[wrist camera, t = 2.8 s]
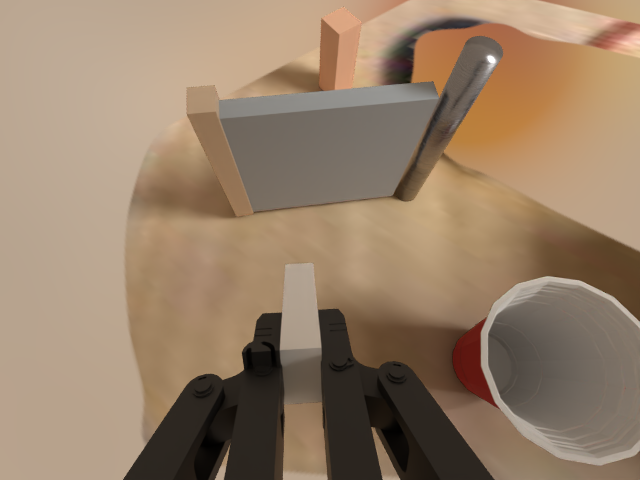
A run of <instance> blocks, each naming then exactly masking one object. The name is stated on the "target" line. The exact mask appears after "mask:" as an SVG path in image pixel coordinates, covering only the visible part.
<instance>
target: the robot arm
mask: <svg viewBox="0 0 640 480" xmlns="http://www.w3.org/2000/svg"><path fill="white" fill-rule="evenodd" d="M242 357H243V364H244V370H243V371H242V372H241V373H239V374H238V375H236V376H233V377H231V378H228V379H224V380H222V379H221V378H220V377H219V376H217V375H214V374H204V375H201V376H198V377H196V378H194V379H193V380H191V381H190V382H189V383H188V384H187V386H186V387H185V388H184V390H183V391H182V393H181V394H180V396H179V397H178V399H177V400H176V402H175V403H174V405H173V406H172V408H171V409H170V411H169V412H168V414H167V415H166V417H165V418H164V419H163V421H162V422H161V424H160V425H159V427H158V428H157V430H156V431H155V433H154V434H153V436H152V437H151V439H150V440H149V442H148V443H147V445H146V446H145V448H144V449H143V451H142V452H141V454H140V455H139V457H138V458H137V460H136V461H135V463H134V464H133V466H132V467H131V469H130V470H129V472H128V473H127V475H126V476H125V477H124V479H123V480H215V478H216V475H217V473H218V471H219V468H220V466H221V464H222V462H223V459H224V457H225V455H226V452H227V450H228V448H229V445H230V443H231V445H230V450H229V455H228V461H227V466H226V472H225V477H224V480H283V453H284V424H285V415H284V404H299V403H314V402H322V406H323V428H324V438H325V450H326V463H327V476H328V480H383V479H382V475H381V470H380V466H379V461H378V457H377V452H376V448H375V443H374V439H373V434H372V430H371V427H375V429H376V432H377V434H378V436H379V438H380V440H381V442H382V444H383V446H384V448H385V450H386V452H387V454H388V456H389V458H390V460H391V462H392V464H393V466H394V468H395V470H396V472H397V474H398V476H399V478H400V480H494V479H493V477H492V476H491V475H490V473H489V472H488V471H487V469H486V468H485V467H484V465H483V464H482V463H481V461H480V460H479V459H478V457H477V456H476V455H475V453H474V452H473V451H472V449H471V448H470V447H469V445H468V444H467V443H466V441H465V440H464V439H463V437H462V436H461V435H460V433H459V432H458V431H457V429H456V428H455V427H454V425H453V424H452V423H451V421H450V420H449V419H448V417H447V416H446V414H445V413H444V412H443V410H442V409H441V408H440V406H439V405H438V404H437V402H436V401H435V400H434V398H433V397H432V396H431V394H430V393H429V392H428V390H427V389H426V388H425V386H424V385H423V384H422V382H421V381H420V380H419V378H418V377H417V376H416V374H415V373H414V372H413V370H412V369H410V368H409V367H408V366H407V365H405V364H403V363H400V362H395V361H393V362H387V363H384V364H382V365H381V367H380V368H379V369H375V368H370V367H367V366H364V365H362V364H360V363H359V362H357V361H356V360H355V358H354V357H353V354H352V351H351V346H350V342H349V337H348V332H347V328H346V323H345V318H344V315H343V314H342V313H341V312H340V310H339V309H326V310H318V307H317V297H316V287H315V277H314V267H313V263H298V264H285V278H284V293H283V308H282V313H265V314H262V315H261V316H260V317H259V319H258V320H257V323H256V328H255V334H254V339H253V342H251V343H249V344H248V345H247V346H246V347H244V349H243V351H242Z"/></svg>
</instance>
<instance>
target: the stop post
mask: <svg viewBox="0 0 640 480" xmlns="http://www.w3.org/2000/svg"><path fill="white" fill-rule="evenodd" d="M361 24H362V23H361V22H360V21H359V20H358V19H357V18H356V17H354V16H353V15H352V14H351V13H350V12H349V11H348V10H347V9H345V8H344V7H342V8H340V9H338V10H336V11H334V12H332V13H330V14H329V15H327V16H325V17H323V18H321V44H320V74H319V87H320V88H321V89H322V90H323V91H330V90H341V89H352V84H353V77H354V71H355V64H356V57H357V51H358V44H359V37H360V31H361Z"/></svg>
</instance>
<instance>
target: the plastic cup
mask: <svg viewBox="0 0 640 480" xmlns="http://www.w3.org/2000/svg"><path fill="white" fill-rule="evenodd" d="M453 366H454V369H455V372H456V375H457V377H458V378H459V380H460V381H461V382H462V383H463V385H464V386H465V387H466V388H467V389H468V390H469V391H471V392H472V393H474V394H476V395H477V396H479V397H480V398H482V399H484V400H485V401H487V402H489V403H490V404H492V405H493V406H495V407H497V408H498V409H500V410H502V412H503V413H504V414H505V415H506V416H507V418H508V419H509V420H510V421H511V422H512V424H513V425H514V426H515V427H516V428H517V430H518V431H519V432H520V433H521V434H522V436H524V437H525V438H527V439H528V440H530V441H532V442H533V443H535V444H537V445H538V446H540V447H541V448H543V449H545V450H546V451H548V452H550V453H551V454H553V455H554V456H556V457H558V458H559V459H565V460H570V461H576V462H581V463H586V464H592V465H597V466H601V465H604V464H608V463H611V462H615V461H618V460H622V459H626V458H629V457H633V456H635V455H636V454H637V453H638V452H639V451H640V322H639V321H638V320H637V319H636V318H635V317H634V316H633V315H632V314H631V313H630V312H629V311H628V310H627V309H626V308H625V307H624V306H623V305H622V304H620V303H619V302H618V301H617V300H616V299H615V298H614V297H613V296H611V295H609V294H607V293H605V292H603V291H601V290H598V289H596V288H594V287H592V286H590V285H588V284H586V283H584V282H582V281H580V280H572V279H565V278H558V277H550V276H545V277H541V278H537V279H534V280H530V281H526V282H522V283H518V284H516V285H515V286H514V287H512V288H511V289H510V290H509V291H508V292H506V293H505V294H504V295H503V296H502V297H500V298H499V299H498V300H497V301H496V302H494V304H493V306H492V308H491V310H490V312H489V315H488V317H486V318H485V319H484V320H482V321H481V322H479V323H478V324H477V325H476V326H474V327H473V328H472V329H471V330H470V331H468V332H467V333H466V334H465V335H463V336H462V337H461V338H460V339H459V340H458V342H457V344H456V346H455V348H454V351H453Z"/></svg>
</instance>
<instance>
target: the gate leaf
mask: <svg viewBox="0 0 640 480" xmlns="http://www.w3.org/2000/svg"><path fill="white" fill-rule="evenodd" d="M438 100H439V96H438V93H437V91H436V88H435V85H434V82H433V81H432V82H421V83H409V84H398V85H386V86H375V87H364V88H352V89H341V90H330V91H318V92H307V93H296V94H284V95H273V96H262V97H250V98H239V99H228V100H219V97H218V94H217V91H216V88H215V85H212V86H200V87H188V88H187V116H188V118H189V120H190V122H191V124H192V126H193V128H194V130H195V132H196V134H197V137H198V139H199V141H200V143H201V145H202V147H203V149H204V151H205V153H206V155H207V157H208V159H209V161H210V163H211V165H212V167H213V169H214V172H215V174H216V176H217V178H218V180H219V182H220V184H221V186H222V188H223V190H224V192H225V194H226V196H227V198H228V200H229V202H230V204H231V207H232V209H233V211H234V213H235V215H236V216H244V215H252V214H253V212H256V211H265V210H273V209H282V208H291V207H300V206H308V205H317V204H326V203H334V202H343V201H352V200H360V199H369V198H378V197H386V196H393V194H394V192H395V190H396V187H397V185H398V183H399V181H400V179H401V177H402V175H403V173H404V171H405V169H406V167H407V165H408V163H409V160H410V158H411V156H412V154H413V152H414V150H415V148H416V146H417V144H418V142H419V140H420V138H421V136H422V133H423V131H424V129H425V127H426V125H427V123H428V121H429V119H430V117H431V115H432V113H433V111H434V109H435V106H436V104H437V102H438Z"/></svg>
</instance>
